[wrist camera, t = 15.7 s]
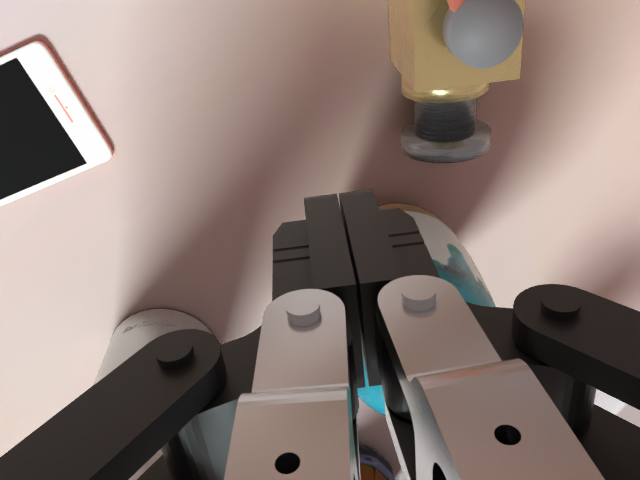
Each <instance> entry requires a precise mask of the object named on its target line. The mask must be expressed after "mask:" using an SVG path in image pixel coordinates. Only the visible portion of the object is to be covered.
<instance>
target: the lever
mask: <svg viewBox="0 0 640 480" xmlns="http://www.w3.org/2000/svg"><path fill="white" fill-rule="evenodd" d="M447 2H448V5H449V9H448V11H447V13H446V15H445V18H444V22H443V38H444V42H445V44H446V46H447V48H448V49H449V51H450V52H451V53H452V54H453V55H454V56H456V57H457V58H458V59H459V60H460V61H462V62H463V63H464V64H466V65H468V66H470V67H473V68H478V69H485V68H491V67H494V66H496V65H498V64H500V63H502V62H504V61H505V60H506V59H507V58H509V57H510V56H511V55H512V53H513V52H514V51H515V50H516V48H517V46H518V45H519V43H520V40H521V38H522V34H523V28H524V20H523V14H522V12H521V9H520V7H519V5H518V4H517V3H516V1H515V0H447Z"/></svg>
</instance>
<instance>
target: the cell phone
mask: <svg viewBox="0 0 640 480" xmlns="http://www.w3.org/2000/svg"><path fill="white" fill-rule="evenodd" d="M112 155H113V150H112V148H111V146H110V144H109V142H108V140H107V139H106V137H105V136H104V134H103V132H102V131H101V129H100V128H99V126H98V125H97V123H96V121H95V120H94V118H93V117H92V115H91V113H90V112H89V110H88V109H87V107H86V105H85V104H84V102H83V101H82V99H81V98H80V96H79V94H78V93H77V91H76V90H75V88H74V86H73V85H72V83H71V82H70V80H69V78H68V77H67V75H66V74H65V72H64V71H63V69H62V67H61V66H60V64H59V63H58V61H57V59H56V58H55V56H54V55H53V53H52V51H51V50H50V49H49V47H48V46H47V45H46V44H45V43H44V42H42V41H39V40H37V41H33V42H31V43H29V44H27V45H25V46H23V47H21V48H18V49H16V50H14V51H12V52H10V53H8V54H6V55H3V56H1V57H0V206H2V205H5V204H7V203H9V202H12V201H14V200H16V199H19V198H21V197H23V196H26V195H28V194H31V193H33V192H35V191H38V190H40V189H42V188H45V187H47V186H49V185H52V184H54V183H56V182H59V181H61V180H63V179H66V178H68V177H70V176H73V175H75V174H77V173H80V172H82V171H84V170H87V169H89V168H91V167H94V166H96V165H98V164H101V163H103V162H105V161H108V160H109V159H110V158H111V157H112Z"/></svg>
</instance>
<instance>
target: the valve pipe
mask: <svg viewBox="0 0 640 480" xmlns="http://www.w3.org/2000/svg"><path fill="white" fill-rule="evenodd" d="M515 1H516V3H517V4H518V5H519V7H520V9H521V12H522V14H523V20H524V12H525V0H515ZM448 9H449V5H448V2H447V0H388V12H389V35H390V57H391V61H392V62H393V64H394V65H395V66H396V68H397V69H398V70H399V72H400V73H401V80H402V94H403V96H404V97H406V98H408V99H410V100H413V101H414V103H415V123H412V124H410V125H408V126H406V127H405V128H404V129H403V130H402V131H401V150H402V152H403V153H404V154H405V155H406V156H408V157H410V158H412V159H415V160H419V161H423V162H430V163H454V162H461V161H466V160H470V159H474V158H477V157H479V156H481V155H483V154H485V153H486V152H487V151H488V150H489V149H490V142H491V129H490V127H489V126H488V125H487V124H485V123H483V122H481V121H478V120H476V98H477V97H480V96H482V95H484V94H486V93H487V92H488V91H489V89H490V83H492V82H500V81H508V80H516V79H520V73H521V57H522V42H523V34H522V38H521V40H520V43H519V45H518V46H517V48H516V50H515V51H514V52H513V53H512V55H511V56H510V57H509V58H507V59H506V60H505V61H504V62H502V63H500V64H498V65H496V66H494V67H491V68H485V69H478V68H473V67H470V66H468V65H466V64H464V63H463V62H462V61H460V60H459V59H458V58H457V57H456V56H454V55H453V54H452V53H451V52H450V51H449V49H448V48H447V46H446V44H445V42H444V38H443V22H444V18H445V15H446V13H447V11H448Z"/></svg>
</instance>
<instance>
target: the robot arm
mask: <svg viewBox="0 0 640 480" xmlns="http://www.w3.org/2000/svg"><path fill="white" fill-rule="evenodd" d="M339 200H340V207H339V202H338V198H337V194H331V195H323V196H316V197H308V198H304V204H305V214H306V220H301V221H293V222H285V223H282V224H281V226H280V227H279V228H278V230H277V231H276V232H275V234H274V235H273V288H272V302H271V303H270V304H269V305H268V307H267V308H266V310H265V311H264V315H263V320H262V325H261V326H260V327H259V328H258V329H256V330H255V331H253V332H252V333H250V334H248V335H246V336H244V337H241V338H239V339H236V340H233V341H231V342H228V343H225V344H222V345H220V344H219V341H218V340H217V339H216V337H215V336H213V334H212V333H211V331H210V330H209V329H208V328H207V327H206V326H205V325H204V324H203V323H202V322H200V321H199V320H198V319H196V318H194V317H192V316H190V315H188V314H186V313H183V312H179V311H176V310H170V309H150V310H146V311H141V312H138V313H136V314H134V315H131V316H130V317H128V318H127V319H125V320H124V321H123V322H122V323H121V324H120V325H119V326H118V327H117V328H116V330H115V332H114V334H113V336H112V338H111V341H110V344H109V346H108V349H107V352H106V354H105V357H104V359H103V362H102V364H101V367H100V369H99V372H98V375H97V377H96V380H95V382H94V385H93V386H92V387H91V388H89V389H88V390H87V391H86V392H84V393H83V394H82V395H80V396H79V397H78V398H77V399H75V400H74V401H73V402H71V403H70V404H69V405H67V406H66V407H65V408H64V409H62V410H61V411H60V412H58V413H57V414H56V415H55V416H53V417H52V418H51V419H49V420H48V421H47V422H46V423H44V424H43V425H42V426H40V427H39V428H38V429H36V430H35V431H34V432H33V433H31V434H30V435H29V436H27V437H26V438H25V439H24V440H22V441H21V442H20V443H18V444H17V445H16V446H15V447H13V448H12V449H11V450H9V451H8V452H7V453H5V454H4V455H3V456H2V457H0V480H361V475H360V459H359V443H358V426H357V417H356V415H357V413H358V408H359V400H358V391H357V388H363V387H365V376H364V365H363V358H364V363H365V368H366V373H367V378H368V384H369V386H377V385H382V389H383V393H384V400H385V414H386V421H387V424H388V428H389V431H390V434H391V437H392V440H393V443H394V447H395V450H396V453H397V456H398V459H399V462H400V465H401V469H402V472H403V475H404V478H405V480H640V427H638V426H636V425H634V424H632V423H630V422H628V421H626V420H624V419H622V418H620V417H618V416H616V415H614V414H612V413H610V412H608V411H606V410H604V409H603V408H601V407H599V406H597V405H595V404H594V399H595V393H596V389H598V390H600V391H602V392H604V393H606V394H608V395H610V396H612V397H614V398H616V399H618V400H620V401H623V402H625V403H627V404H629V405H631V406H633V407H635V408H637V409H639V410H640V312H639V311H636V310H634V309H631V308H629V307H626V306H623V305H621V304H618V303H615V302H613V301H610V300H608V299H605V298H602V297H600V296H597V295H595V294H592V293H589V292H587V291H584V290H581V289H578V288H575V287H571V286H567V285H559V284H545V285H538V286H534V287H531V288H528V289H526V290H524V291H523V292H521V293H520V294H519V295H518V296H517V297H516V299H515V301H514V305H513V309H511V308H499V307H488V306H480V305H476V304H472V303H469V302H466V301H465V300H464V299H463V297H462V296H461V294H460V292H459V291H458V290H457V288H456V287H455V286H454V285H452V284H451V283H449V282H448V281H446V280H443V279H441V278H440V276H439V273H438V271H437V269H436V267H435V264H434V262H433V260H432V258H431V255H430V253H429V251H428V249H427V247H426V244H424V240H423V238H422V235H421V233H420V231H419V229H418V226H417V224H416V222H415V220H414V218H413V217H412V216H410V215H409V214H407V213H406V212H404V211H403V210H401V209H400V208H395V209H387V210H379V207H378V204H377V201H376V198H375V195H374V192H373V190H372V189H370V190H362V191H354V192H346V193H339ZM340 211H341V212H340ZM362 353H363V354H362Z"/></svg>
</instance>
